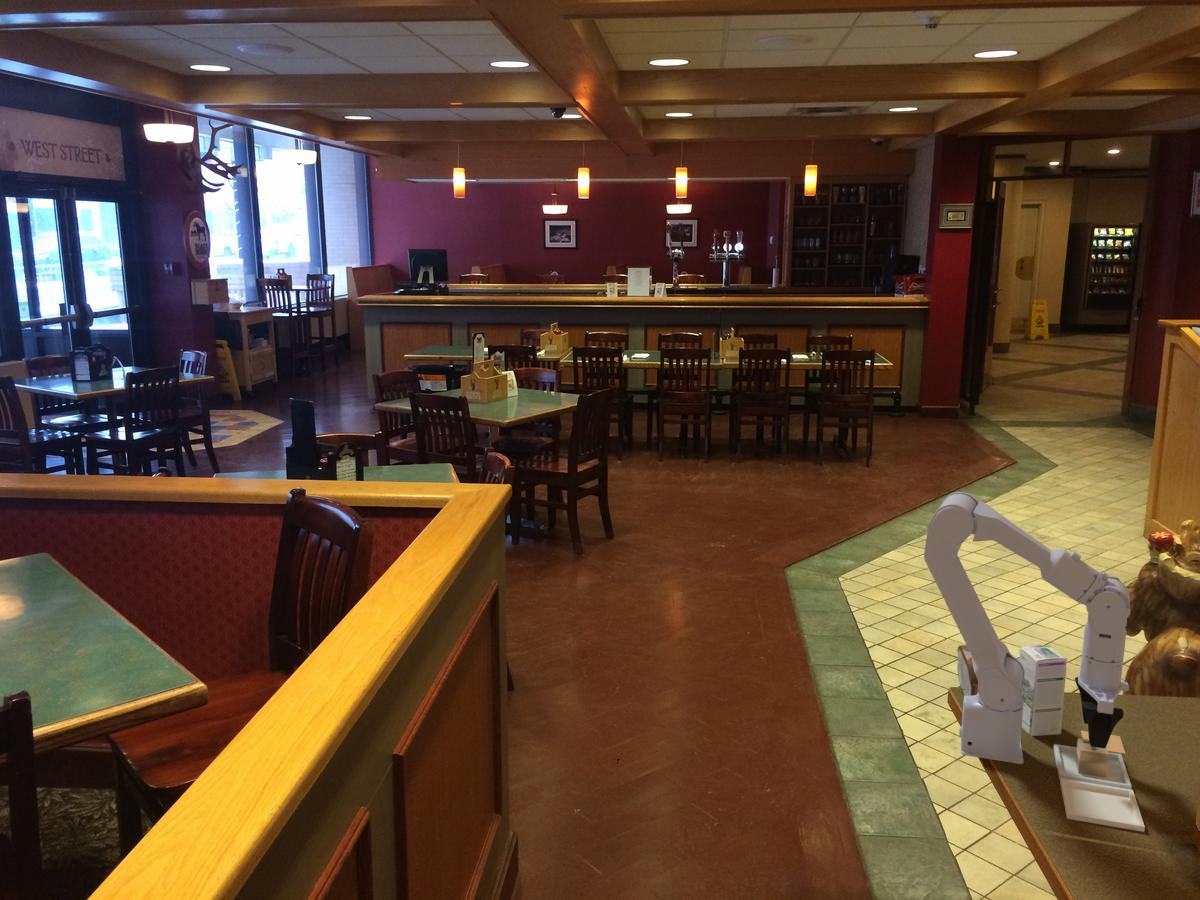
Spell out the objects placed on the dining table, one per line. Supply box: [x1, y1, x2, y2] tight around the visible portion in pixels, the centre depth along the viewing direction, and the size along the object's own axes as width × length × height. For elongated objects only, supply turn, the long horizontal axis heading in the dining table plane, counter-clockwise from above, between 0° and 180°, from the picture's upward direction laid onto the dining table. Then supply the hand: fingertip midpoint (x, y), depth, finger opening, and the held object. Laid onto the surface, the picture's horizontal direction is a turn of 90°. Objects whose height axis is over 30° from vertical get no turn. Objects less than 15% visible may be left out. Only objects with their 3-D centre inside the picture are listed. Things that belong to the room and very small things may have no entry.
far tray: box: [1053, 743, 1132, 790], centre depth 151 cm, size 10×10×1 cm
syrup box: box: [1018, 644, 1068, 737], centre depth 163 cm, size 6×6×14 cm
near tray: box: [1059, 778, 1146, 833], centre depth 141 cm, size 10×10×1 cm
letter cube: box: [1075, 737, 1109, 777], centre depth 151 cm, size 4×4×4 cm
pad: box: [1080, 730, 1126, 755], centre depth 159 cm, size 6×6×1 cm
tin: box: [957, 644, 978, 697], centre depth 177 cm, size 15×3×8 cm, turn 168°
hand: (1094, 734), depth 150 cm, fingers open, 7 cm apart
